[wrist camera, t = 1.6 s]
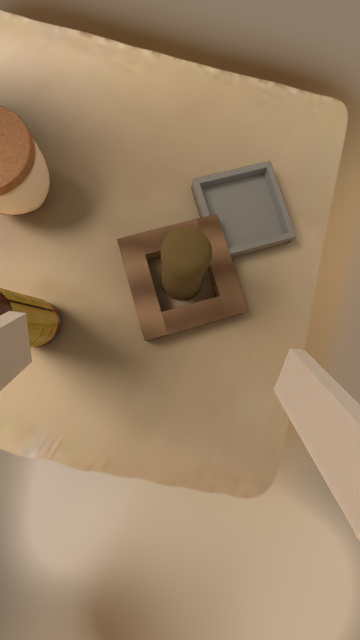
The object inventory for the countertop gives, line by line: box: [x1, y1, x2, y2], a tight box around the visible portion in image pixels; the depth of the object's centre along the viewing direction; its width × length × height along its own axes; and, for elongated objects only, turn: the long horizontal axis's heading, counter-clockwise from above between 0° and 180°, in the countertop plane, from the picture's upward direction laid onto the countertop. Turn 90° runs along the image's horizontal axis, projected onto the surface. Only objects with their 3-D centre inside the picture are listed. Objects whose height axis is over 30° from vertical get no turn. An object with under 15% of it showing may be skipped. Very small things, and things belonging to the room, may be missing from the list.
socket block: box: [117, 214, 248, 341], centre depth 31 cm, size 14×14×2 cm
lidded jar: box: [0, 105, 50, 215], centre depth 27 cm, size 11×11×9 cm
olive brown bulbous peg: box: [160, 227, 212, 300], centre depth 26 cm, size 6×6×11 cm
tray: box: [192, 161, 296, 257], centre depth 32 cm, size 12×12×2 cm
